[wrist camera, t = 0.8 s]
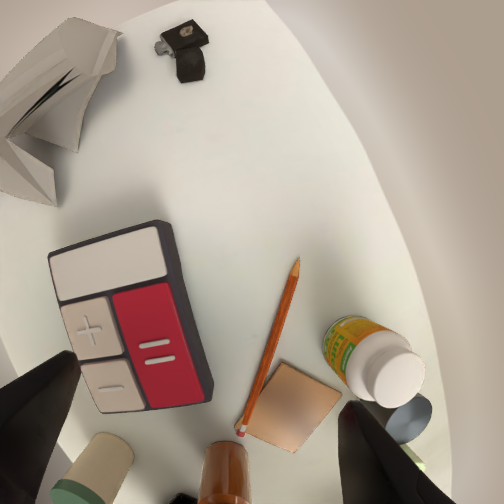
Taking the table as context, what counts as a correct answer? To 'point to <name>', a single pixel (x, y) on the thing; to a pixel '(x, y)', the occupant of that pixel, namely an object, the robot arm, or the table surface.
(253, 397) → the pencil
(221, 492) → the amber bottle
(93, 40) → the origami crane
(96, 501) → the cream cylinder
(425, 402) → the grey tin
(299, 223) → the table surface
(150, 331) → the calculator
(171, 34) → the lighter
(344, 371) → the supplement bottle
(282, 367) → the cork pad
